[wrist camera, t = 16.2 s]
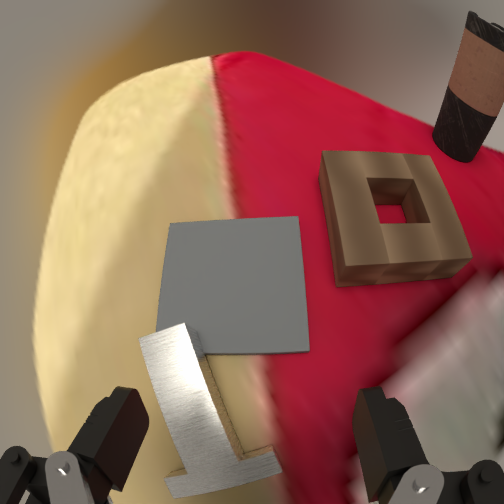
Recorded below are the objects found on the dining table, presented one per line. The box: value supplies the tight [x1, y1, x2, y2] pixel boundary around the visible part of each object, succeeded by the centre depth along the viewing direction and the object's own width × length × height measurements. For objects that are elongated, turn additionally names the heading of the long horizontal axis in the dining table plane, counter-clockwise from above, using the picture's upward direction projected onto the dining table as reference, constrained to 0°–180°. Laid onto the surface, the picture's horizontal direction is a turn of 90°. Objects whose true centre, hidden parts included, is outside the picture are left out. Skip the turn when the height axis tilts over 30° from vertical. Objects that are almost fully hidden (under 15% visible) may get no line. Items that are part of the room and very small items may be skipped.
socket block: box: [318, 151, 473, 287], centre depth 24 cm, size 12×12×4 cm
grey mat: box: [156, 216, 310, 355], centre depth 24 cm, size 12×12×1 cm
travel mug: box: [433, 11, 504, 162], centre depth 23 cm, size 8×8×20 cm
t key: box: [138, 323, 283, 498], centre depth 18 cm, size 8×4×12 cm
